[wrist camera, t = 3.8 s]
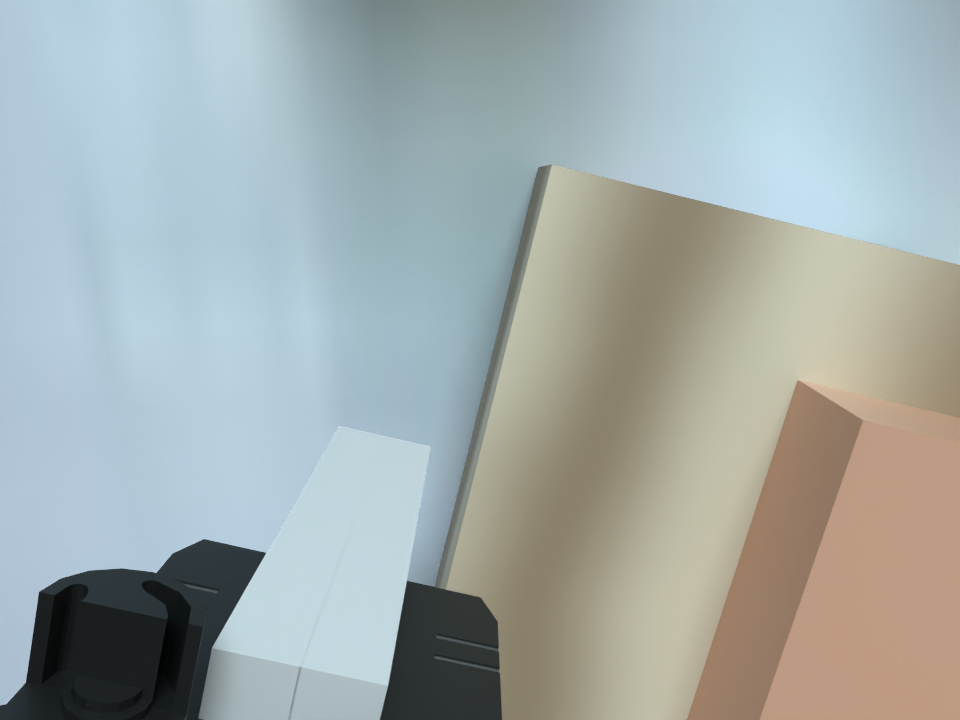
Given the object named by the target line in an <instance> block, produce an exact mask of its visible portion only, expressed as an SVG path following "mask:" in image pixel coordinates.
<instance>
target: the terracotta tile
mask: <svg viewBox="0 0 960 720" xmlns="http://www.w3.org/2000/svg"><path fill="white" fill-rule="evenodd" d="M687 720H960V418H958V417H953V416H949V415H945V414H941V413H937V412H932V411H928V410H924V409H920V408H915V407H911V406H907V405H903V404H899V403H894V402H890V401H886V400H882V399H877V398H873V397H869V396H865V395H861V394H856V393H852V392H848V391H844V390H839V389H835V388H831V387H827V386H822V385H818V384H814V383H810V382H806V381H801V380H797V383H796V386H795V390H794V393H793V396H792V399H791V402H790V405H789V408H788V411H787V414H786V417H785V420H784V423H783V426H782V429H781V432H780V436H779V439H778V442H777V445H776V448H775V451H774V454H773V457H772V460H771V463H770V466H769V469H768V472H767V475H766V478H765V482H764V485H763V488H762V491H761V494H760V497H759V500H758V503H757V506H756V509H755V512H754V515H753V518H752V521H751V524H750V528H749V531H748V534H747V537H746V540H745V543H744V546H743V549H742V552H741V555H740V558H739V561H738V564H737V567H736V570H735V574H734V577H733V580H732V583H731V586H730V589H729V592H728V595H727V598H726V601H725V604H724V607H723V610H722V613H721V617H720V620H719V623H718V626H717V629H716V632H715V635H714V638H713V641H712V644H711V647H710V650H709V653H708V656H707V659H706V663H705V666H704V669H703V672H702V675H701V678H700V681H699V684H698V687H697V690H696V693H695V696H694V699H693V702H692V705H691V709H690V712H689V715H688V718H687Z"/></svg>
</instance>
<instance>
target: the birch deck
mask: <svg viewBox="0 0 960 720" xmlns="http://www.w3.org/2000/svg"><path fill="white" fill-rule="evenodd" d="M797 380H801V381H806V382H810V383H814V384H818V385H822V386H827V387H831V388H835V389H839V390H844V391H848V392H852V393H856V394H861V395H865V396H869V397H873V398H877V399H882V400H886V401H890V402H894V403H899V404H903V405H907V406H911V407H915V408H920V409H924V410H928V411H932V412H937V413H941V414H945V415H949V416H953V417H958V418H960V265H957V264H953V263H949V262H945V261H941V260H937V259H932V258H928V257H924V256H920V255H916V254H912V253H908V252H904V251H900V250H896V249H892V248H888V247H884V246H880V245H876V244H872V243H868V242H864V241H860V240H855V239H851V238H847V237H843V236H839V235H835V234H831V233H827V232H823V231H819V230H815V229H811V228H807V227H803V226H799V225H795V224H791V223H787V222H783V221H779V220H774V219H770V218H766V217H762V216H758V215H754V214H750V213H746V212H742V211H738V210H734V209H730V208H726V207H722V206H718V205H714V204H710V203H706V202H702V201H697V200H693V199H689V198H685V197H681V196H677V195H673V194H669V193H665V192H661V191H657V190H653V189H649V188H645V187H641V186H637V185H633V184H629V183H625V182H620V181H616V180H612V179H608V178H604V177H600V176H596V175H592V174H588V173H584V172H580V171H576V170H572V169H568V168H564V167H560V166H556V165H548V166H543V167H539V168H538V172H537V176H536V180H535V184H534V188H533V192H532V196H531V200H530V205H529V209H528V213H527V217H526V221H525V225H524V229H523V233H522V237H521V241H520V245H519V249H518V253H517V257H516V261H515V265H514V269H513V273H512V277H511V281H510V285H509V289H508V293H507V297H506V302H505V306H504V310H503V314H502V318H501V322H500V326H499V330H498V334H497V338H496V342H495V346H494V350H493V354H492V358H491V362H490V366H489V370H488V374H487V378H486V382H485V386H484V390H483V395H482V399H481V403H480V407H479V411H478V415H477V419H476V423H475V427H474V431H473V435H472V439H471V443H470V447H469V451H468V455H467V459H466V463H465V467H464V471H463V475H462V479H461V483H460V488H459V492H458V496H457V500H456V504H455V508H454V512H453V516H452V520H451V524H450V528H449V532H448V536H447V540H446V544H445V548H444V552H443V556H442V560H441V564H440V568H439V572H438V576H437V580H436V585H435V587H436V588H441V589H445V590H450V591H454V592H459V593H463V594H468V595H473V596H477V597H481V598H482V600H483V601H484V603H485V604H486V606H487V607H488V608H489V610H490V611H491V613H492V614H493V616H494V617H495V619H496V620H497V621H498V638H499V648H498V651H499V661H500V669H499V673H500V683H501V705H502V720H687V718H688V715H689V712H690V709H691V705H692V702H693V699H694V696H695V693H696V690H697V687H698V684H699V681H700V678H701V675H702V672H703V669H704V666H705V663H706V659H707V656H708V653H709V650H710V647H711V644H712V641H713V638H714V635H715V632H716V629H717V626H718V623H719V620H720V617H721V613H722V610H723V607H724V604H725V601H726V598H727V595H728V592H729V589H730V586H731V583H732V580H733V577H734V574H735V570H736V567H737V564H738V561H739V558H740V555H741V552H742V549H743V546H744V543H745V540H746V537H747V534H748V531H749V528H750V524H751V521H752V518H753V515H754V512H755V509H756V506H757V503H758V500H759V497H760V494H761V491H762V488H763V485H764V482H765V478H766V475H767V472H768V469H769V466H770V463H771V460H772V457H773V454H774V451H775V448H776V445H777V442H778V439H779V436H780V432H781V429H782V426H783V423H784V420H785V417H786V414H787V411H788V408H789V405H790V402H791V399H792V396H793V393H794V390H795V386H796V383H797Z"/></svg>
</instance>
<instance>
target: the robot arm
mask: <svg viewBox="0 0 960 720" xmlns="http://www.w3.org/2000/svg"><path fill="white" fill-rule="evenodd" d="M430 449H431V446H427V445H423V444H418V443H414V442H409V441H405V440H401V439H396V438H392V437H388V436H383V435H379V434H375V433H370V432H366V431H362V430H357V429H353V428H349V427H344V426H340V425H339V427H338V428H337V430H336V432H335V434H334V435H333V437H332V439H331V441H330V442H329V444H328V446H327V448H326V449H325V451H324V453H323V455H322V456H321V458H320V460H319V462H318V463H317V465H316V467H315V469H314V470H313V472H312V474H311V476H310V477H309V479H308V481H307V483H306V484H305V486H304V488H303V490H302V491H301V493H300V495H299V497H298V498H297V500H296V502H295V504H294V505H293V507H292V509H291V511H290V512H289V514H288V516H287V518H286V519H285V521H284V523H283V525H282V526H281V528H280V530H279V532H278V533H277V535H276V537H275V539H274V540H273V542H272V544H271V546H270V547H269V549H268V551H267V553H264V552H259V551H255V550H250V549H246V548H241V547H237V546H232V545H228V544H223V543H219V542H214V541H210V540H205V539H204V540H201V541H199V542H197V543H195V544H193V545H191V546H188V547H186V548H184V549H182V550H180V551H177V552H175V553H173V554H172V555H171V556H170V558H169V559H168V560H167V561H166V562H165V564H164V565H163V566H162V567H161V569H160V570H159V571H158V572H157V573H153V572H146V571H138V570H129V569H109V570H94V571H87V572H83V573H80V574H76V575H73V576H69V577H65V578H62V579H60V580H58V581H56V582H55V583H53V584H51V585H50V586H48V587H47V588H45V589H43V590H42V591H40V592H39V597H38V604H37V611H36V618H35V625H34V632H33V639H32V646H31V652H30V659H29V666H28V673H27V680H26V683H25V684H24V686H23V687H22V688H21V689H20V690H19V691H18V692H17V693H16V694H15V696H14V697H13V698H12V699H11V700H10V701H9V702H8V703H7V704H6V705H1V706H0V720H502V705H501V683H500V673H499V669H500V661H499V651H498V648H499V638H498V621H497V620H496V619H495V617H494V616H493V614H492V613H491V611H490V610H489V608H488V607H487V606H486V604H485V603H484V601H483V600H482V598H481V597H477V596H473V595H468V594H463V593H459V592H454V591H450V590H445V589H441V588H436V587H432V586H427V585H423V584H418V583H414V582H409V581H407V577H408V571H409V566H410V560H411V555H412V549H413V544H414V538H415V532H416V527H417V521H418V516H419V510H420V504H421V499H422V493H423V488H424V482H425V477H426V471H427V465H428V460H429V454H430Z"/></svg>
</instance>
